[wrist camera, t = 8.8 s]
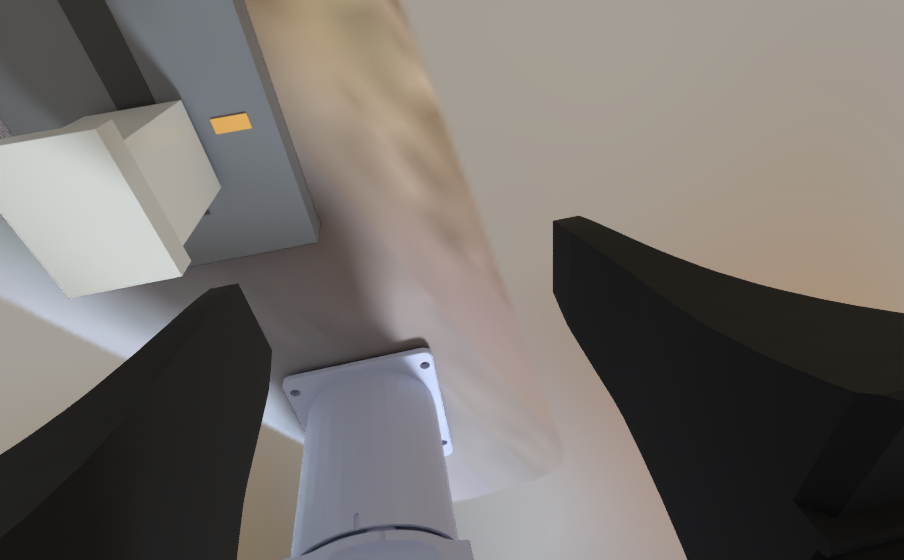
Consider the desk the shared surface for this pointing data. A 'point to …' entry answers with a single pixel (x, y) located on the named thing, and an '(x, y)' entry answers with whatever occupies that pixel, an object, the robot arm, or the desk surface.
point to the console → (165, 80)
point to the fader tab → (108, 196)
